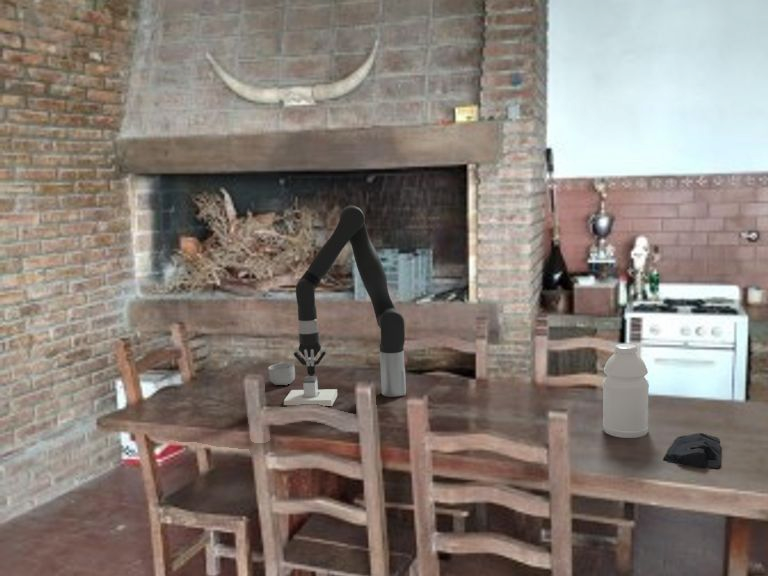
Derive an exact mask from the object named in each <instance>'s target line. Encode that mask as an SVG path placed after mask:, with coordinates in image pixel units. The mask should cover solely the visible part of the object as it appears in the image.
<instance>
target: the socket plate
mask: <svg viewBox="0 0 768 576" xmlns="http://www.w3.org/2000/svg"><path fill="white" fill-rule="evenodd" d="M337 397H338V389H337V388H335V389H334V388H333V389H332V388H331V389H330V388H329V389H326V388H325V389H318V397H317V398H304V389H291V390H290V392H289V393H288V395H287V396H286V397H285V398H284V400H283V406H284V405H300V404H319V405H323V406H332V407H333V405H334V403H335V401H336V399H337Z"/></svg>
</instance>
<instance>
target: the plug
mask: <svg viewBox="0 0 768 576" xmlns="http://www.w3.org/2000/svg"><path fill="white" fill-rule="evenodd" d="M302 383H303V384H302V385H303V386H302V387H303V390H304V398H317V397H318V390H319V388H318V386H319V383H318V376H315V375H313V376H309V375H308V376H304V379H303V380H302Z"/></svg>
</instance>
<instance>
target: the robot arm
mask: <svg viewBox="0 0 768 576" xmlns="http://www.w3.org/2000/svg"><path fill="white" fill-rule="evenodd" d="M365 219H366V218H365V213H364V212H363V211H362V210H361V208H360V207H358V206H356V205H346V206H345V207H343V208H342V209H341V211H340V213H339V220H338V223H337V225H336V227H335V230H334V231H333V233H332V234H331V236H330V237H329V239H328V240H327V241H326V242H325V243H324V245H323V246H322V247H321V248H320V249H319V251H318V252H317V254H316V255H315V257H314V258H313V259H312V261H311V263H310V264H309V266H308V268H307V269H306V271H305V272H304V273H303V274H302V276H301V278H300V279H299V280H298V282H297V283H296V285H295V296H296V304H297V317H298V318H297V319H298V321H297V322H298V323H297V324H298V327H297V328H298V331H297V332H298V342H299V346H298V349H297V350H296V351H294V352H293V356H294V357H295V358H296V359H297V360H298V362H300V364H301V365H302V366H306V369H307V370H306V371H307V375H308V377H309V376H315V374H316V366H318V365H319V364H320V362H321V361H322V359H324V357H325V356H326V354H327V350H326V349H323V348H322V345H321V344H320V333H319V323H318V315H317V306H316V299H315V296H316V295H315V294H316V293H315V291H316V289H317V287H318V285H319V284H320V283H321V281H322V280H323V279H324V277H325V276H326V275H327V274H328V273H329V270H330V269H331V267H332V266H333V264H334V263H335V261H336V260H337V259H338V257H339V255H340V254H341V252H342V251H343V249H344V248H345V246H347V243H348V242H349V243H350V245H351V249H352V252H353V256H354V262H355V263H356V264H355V265H356V268H357V271H358V273H359V276H360V279H361V282H362V284H363V287H364V288H365V290H366V292H367V294H368V296H369V299H370V302H371V304H372V307H373V311H374V314H375V318H376V319H375V320H376V323H377V324H376V325H378V327H379V329H380V344H379V360H380V361H379V362H380V364H379V365H380V379H381V380H380V382H381V383H380V384H381V394H382V396H383V397H389V398H394V397H395V398H396V397H403V396H406V392H407V384H406V368H405V348H404V346H405V339H406V337H405V334H406V333H405V330H406V329H405V321H404V317H403V315H402V314H401V313H400V312H398V310H397V309H396V307H395V305H394V303H393V301H392V299H391V296H390V293H389V289H388V281H387V277H386V276H387V275H386V272H385V268H384V267H383V264H382V262H381V259H380V256H379V254H378V252H377V249H376V248H375V247H374V245H373V243H372V241H371V238H370V235H369V233H368V230H367V227H366V223H365ZM318 354H319V357H318V358H317V360H316V356H317V355H318Z"/></svg>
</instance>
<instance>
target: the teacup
mask: <svg viewBox="0 0 768 576" xmlns="http://www.w3.org/2000/svg"><path fill="white" fill-rule="evenodd" d="M295 369H296V368H295V364H294V363H293V362H282V361H281V362H278V363H274V364H271V365H269V366H268V368H267V370H268V374H269V380H270V382H271V383H272V384H273V385H275V386H276V385H285V386H288V384H289V385H291V384H292V382H293V381H294V380H295V378H296V371H295Z"/></svg>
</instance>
